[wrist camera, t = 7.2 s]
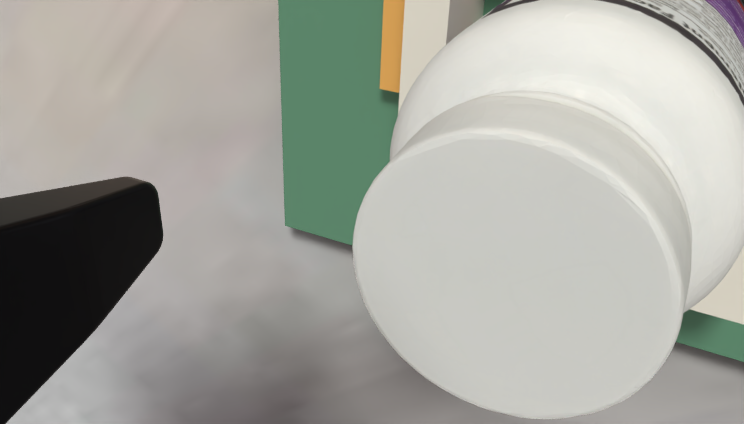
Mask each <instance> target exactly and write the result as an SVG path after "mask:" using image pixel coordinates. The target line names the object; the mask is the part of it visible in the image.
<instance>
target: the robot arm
mask: <svg viewBox="0 0 744 424" xmlns="http://www.w3.org/2000/svg"><path fill="white" fill-rule="evenodd" d="M162 241H163V228H162V220H161V213H160V205H159V197H158V192H157V190H156V188H155V187H154V186H153V185H152V184H151V183H149V182H146V181H142V180H139V179H136V178H132V177H120V178H114V179H108V180H103V181H97V182H91V183H86V184H80V185H74V186H69V187H63V188H57V189H51V190H46V191H40V192H34V193H29V194H23V195H17V196H12V197H6V198H0V424H6V423H7V422H8V421H9V420H10V418H11V417H12V416H13V415H14V414H15V413H16V412H17V411H18V410H19V409H20V408H21V407H22V406H23V405H24V404H25V403H26V402H27V401H28V400H29V399H30V398H31V397H32V396H33V395H34V394H35V393H36V392H37V390H38V389H39V388H40V387H41V386H42V385H43V384H44V383H45V382H46V381H47V380H48V379H49V378H50V377H51V376H52V375H53V374H54V373H55V372H56V371H57V370H58V369H59V368H60V367H61V366H62V365H63V364H64V363H65V361H66V360H67V359H68V358H69V357H70V356H71V355H72V354H73V353H74V352H75V351H76V350H77V349H78V348H79V347H80V346H81V345H82V344H83V343H84V342H85V341H86V340H87V338H88V337H89V336H90V335H91V334H92V333H93V332H94V331H95V330H96V329H97V327H98V326H99V325H100V324H101V323H102V321H103V320H104V319H105V318H106V316H107V315H108V314H109V313H110V311H111V310H112V309H113V308H114V306H115V305H116V304H117V303H118V301H119V300H120V299H121V298H122V296H123V295H124V294H125V293H126V291H127V290H128V289H129V288H130V286H131V285H132V284H133V283H134V281H135V280H136V279H137V278H138V276H139V275H140V274H141V272H142V271H143V270H144V269H145V267H146V266H147V265H148V264H149V262H150V261H151V260H152V259H153V257H154V256H155V255H156V254H157V252H158V251H159V249H160V247H161V244H162Z"/></svg>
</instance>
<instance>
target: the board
mask: <svg viewBox="0 0 744 424" xmlns="http://www.w3.org/2000/svg"><path fill="white" fill-rule="evenodd" d="M504 1H505V0H278V4H279V38H280V72H281V105H282V139H283V173H284V207H285V226H288V227H292V228H295V229H298V230H302V231H305V232H308V233H312V234H315V235H318V236H322V237H325V238H328V239H332V240H335V241H339V242H342V243H345V244H349V245H353V233H354V228H355V223H356V218H357V214H358V211H359V209H360V206H361V204H362V201H363V199H364V196H365V194H366V193H367V191H368V189H369V187H370V186H371V184H372V182H373V180H374V179H375V178H376V177H377V175H378V174H379V173H380V172H381V171H382V169H383V168H384V167H385V166H386V165H387V164H388V163H389V162H390V146H391V140H392V135H393V130H394V126H395V123H396V120H397V117H398V114H399V111H400V108H401V106H402V104H403V101H404V99H405V97H406V95H407V93H408V92H409V90H410V88H411V87H412V85H413V84H414V82H415V80H416V79H417V77H418V76H419V75H420V73H421V72H422V71H423V69H424V68H425V67H426V65H427V64H428V63H429V62H430V61H431V59H432V58H433V57H434V56H435V55H436V54H437V53H438V52H439V51H440V50H441V49H442V48H443V47H444V46H446V45H447V44H448V43H449V42H450V41H451V40H452V39H453V38H455V37H456V36H457V35H458V34H460V33H461V32H462V31H463V30H465V29H466V28H467V27H469V26H470V25H472V24H473V23H474V22H476V21H477V20H479V19H480V18H481V17H483V16H484V15H486V14H487V13H488V12H490V11H491V10H492V9H494V8H495V7H496V6H498V5H499V4H501V3H503V2H504ZM742 2H743V4H744V0H742ZM676 342H678V343H682V344H685V345H688V346H692V347H695V348H698V349H702V350H705V351H708V352H712V353H715V354H719V355H722V356H725V357H729V358H732V359H735V360H739V361H742V362H744V246H743V248H742V250H741V252H740V254H739V256H738V258H737V259H736V261H735V263H734V264H733V266H732V267H731V269H730V270H729V272H728V273H727V274H726V276H725V277H724V278H723V280H722V281H721V282H720V283H719V284H718V285H717V286H716V287H715V288H714V289H713V290H712V291H711V292H710V293H709V294H708V295H707V296H706V297H705V298H704V299H702V300H701V301H700V302H699V303H697V304H696V305H695V306H693V307H692V308H690V309H689V310H687V311H686V312H684V313H683V318H682V323H681V328H680V331H679V334H678V337H677V340H676Z"/></svg>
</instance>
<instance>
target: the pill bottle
mask: <svg viewBox="0 0 744 424" xmlns="http://www.w3.org/2000/svg"><path fill="white" fill-rule="evenodd" d="M743 246H744V4H743V2H742V0H505V1H504V2H503V3H501V4H499V5H498V6H496V7H495V8H494V9H492V10H491V11H490V12H488V13H487V14H486V15H484V16H483V17H481V18H480V19H479V20H477V21H476V22H474V23H473V24H472V25H470V26H469V27H467V28H466V29H465V30H463V31H462V32H461V33H460V34H458V35H457V36H456V37H455V38H453V39H452V40H451V41H450V42H449V43H448V44H447V45H446V46H444V47H443V48H442V49H441V50H440V51H439V52H438V53H437V54H436V55H435V56H434V57H433V58H432V59H431V61H430V62H429V63H428V64H427V65H426V67H425V68H424V69H423V71H422V72H421V73H420V75H419V76H418V77H417V79H416V80H415V82H414V84H413V85H412V87H411V88H410V90H409V92H408V93H407V95H406V97H405V99H404V101H403V104H402V106H401V108H400V111H399V114H398V117H397V120H396V123H395V126H394V130H393V135H392V140H391V146H390V162H389V163H388V164H387V165H386V166H385V167H384V168H383V169H382V171H381V172H380V173H379V174H378V175H377V177H376V178H375V179H374V180H373V182H372V184H371V186H370V187H369V189H368V191H367V193H366V194H365V196H364V199H363V201H362V204H361V206H360V209H359V211H358V214H357V218H356V223H355V228H354V233H353V245H352V251H353V263H354V269H355V275H356V280H357V284H358V287H359V290H360V293H361V296H362V298H363V301H364V304H365V306H366V308H367V310H368V312H369V314H370V316H371V318H372V320H373V321H374V323H375V325H376V326H377V328H378V329H379V331H380V332H381V333H382V335H383V336H384V337H385V338H386V340H387V341H388V343H389V344H390V345H391V346H392V347H393V349H394V350H395V351H396V352H397V353H398V354H399V356H400V357H401V358H403V359H404V360H405V361H406V362H407V363H408V364H409V365H410V366H411V367H412V368H414V369H415V370H416V371H417V372H418V373H420V374H421V375H422V376H423V377H425V378H426V379H427V380H429V381H430V382H432V383H433V384H435V385H436V386H438V387H440V388H441V389H443V390H445V391H447V392H448V393H450V394H452V395H454V396H456V397H458V398H460V399H462V400H464V401H466V402H469V403H471V404H474V405H476V406H479V407H481V408H484V409H487V410H490V411H494V412H498V413H502V414H506V415H510V416H515V417H522V418H529V419H563V418H569V417H575V416H582V415H589V414H592V413H595V412H598V411H601V410H603V409H606V408H608V407H611V406H613V405H615V404H617V403H620V402H622V401H624V400H626V399H627V398H629V397H630V396H632V395H633V394H635V393H636V392H637V391H638V390H640V389H641V388H642V387H643V386H644V385H646V384H647V383H648V382H649V381H650V380H651V379H652V378H653V377H654V376H655V375H656V373H657V372H658V371H659V370H660V368H661V367H662V365H663V364H664V363H665V361H666V360H667V358H668V356H669V354H670V353H671V351H672V349H673V347H674V345H675V342H676V340H677V337H678V334H679V331H680V328H681V323H682V318H683V313H684V312H686V311H687V310H689V309H690V308H692V307H693V306H695V305H696V304H697V303H699V302H700V301H701V300H702V299H704V298H705V297H706V296H707V295H708V294H709V293H710V292H711V291H712V290H713V289H714V288H715V287H716V286H717V285H718V284H719V283H720V282H721V281H722V280H723V278H724V277H725V276H726V274H727V273H728V272H729V270H730V269H731V267H732V266H733V264H734V263H735V261H736V259H737V258H738V256H739V254H740V252H741V250H742V248H743Z"/></svg>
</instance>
